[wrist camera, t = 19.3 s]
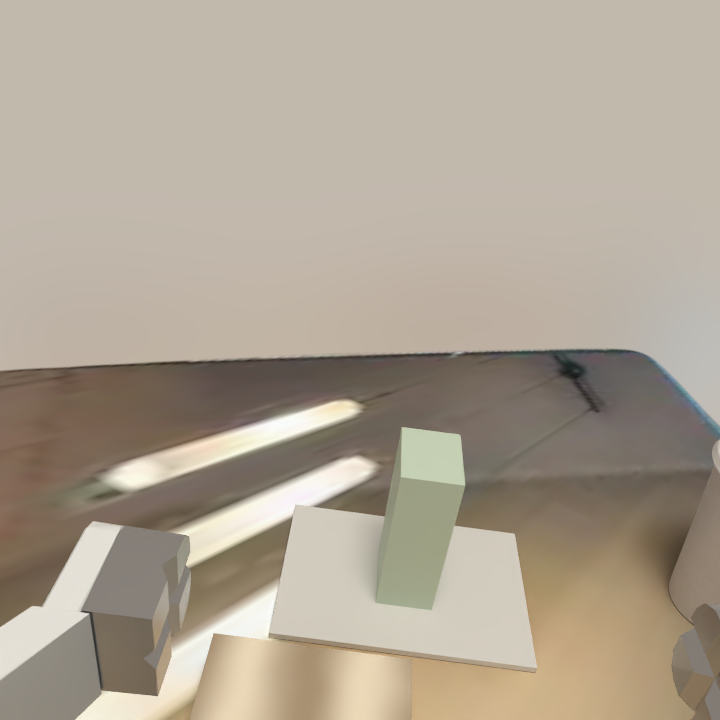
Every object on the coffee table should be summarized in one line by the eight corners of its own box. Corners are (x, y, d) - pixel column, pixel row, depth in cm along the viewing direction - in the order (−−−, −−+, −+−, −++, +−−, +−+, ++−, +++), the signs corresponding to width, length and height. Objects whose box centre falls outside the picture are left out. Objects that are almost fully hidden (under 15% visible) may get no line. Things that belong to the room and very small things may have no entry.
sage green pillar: (375, 603, 49) (400, 477, 42) (378, 549, 53) (401, 427, 46) (431, 610, 49) (465, 485, 42) (430, 555, 53) (460, 434, 46)
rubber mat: (269, 637, 46) (269, 632, 46) (295, 509, 56) (295, 504, 56) (535, 672, 46) (537, 667, 46) (513, 538, 56) (514, 534, 56)
